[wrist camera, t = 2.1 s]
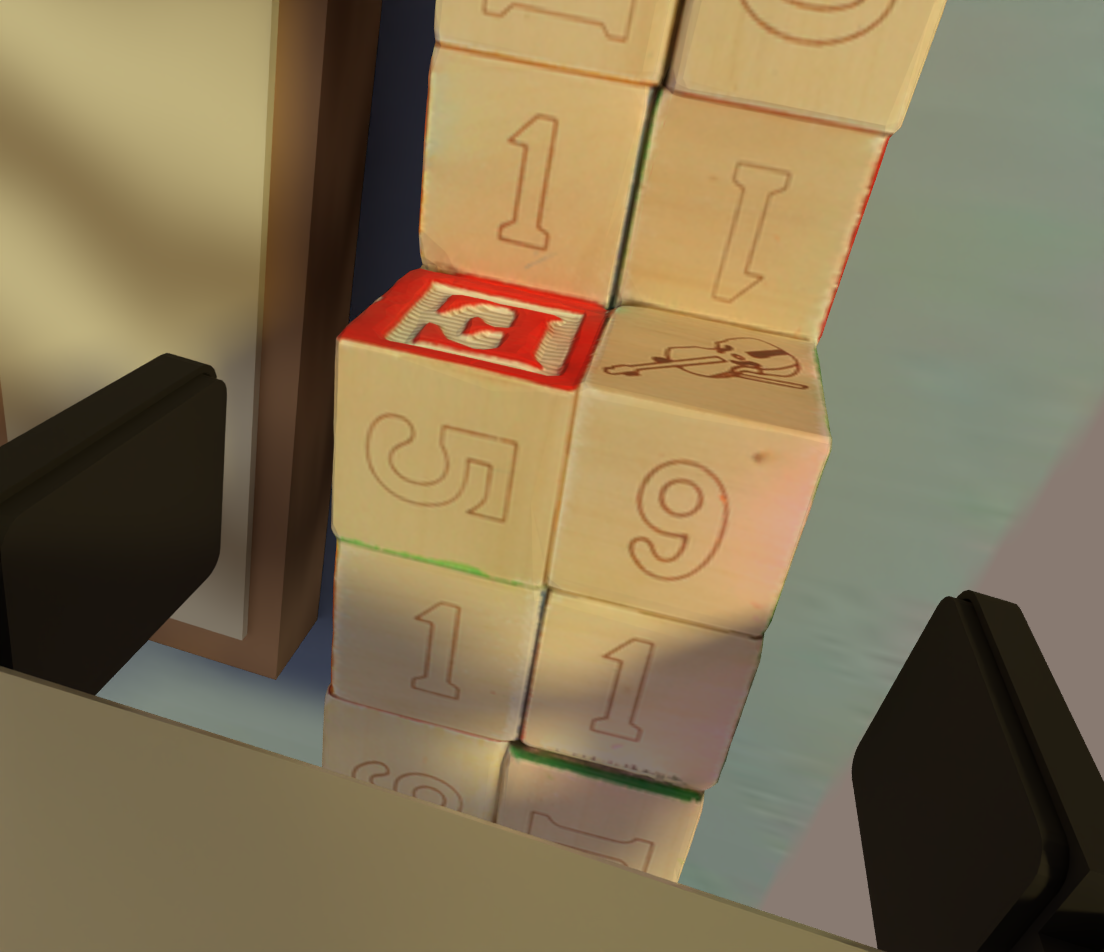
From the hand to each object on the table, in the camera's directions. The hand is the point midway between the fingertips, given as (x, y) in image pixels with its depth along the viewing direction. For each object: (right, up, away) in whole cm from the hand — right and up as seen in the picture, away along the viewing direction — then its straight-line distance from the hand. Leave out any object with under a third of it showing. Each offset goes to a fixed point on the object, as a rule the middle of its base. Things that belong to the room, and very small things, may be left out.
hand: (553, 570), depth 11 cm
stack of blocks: (+2, +7, +11) cm, 13 cm away
